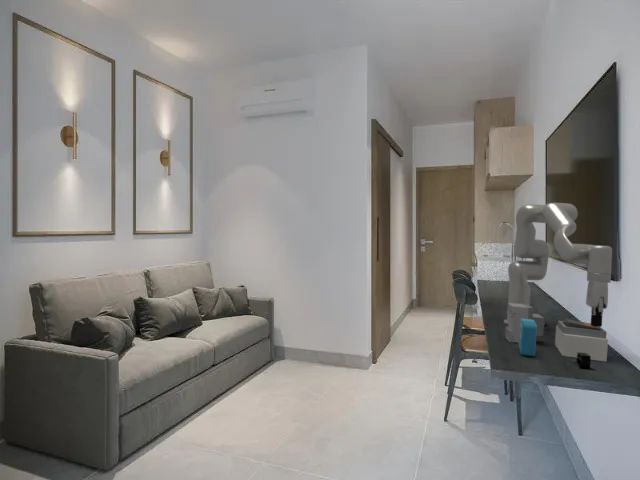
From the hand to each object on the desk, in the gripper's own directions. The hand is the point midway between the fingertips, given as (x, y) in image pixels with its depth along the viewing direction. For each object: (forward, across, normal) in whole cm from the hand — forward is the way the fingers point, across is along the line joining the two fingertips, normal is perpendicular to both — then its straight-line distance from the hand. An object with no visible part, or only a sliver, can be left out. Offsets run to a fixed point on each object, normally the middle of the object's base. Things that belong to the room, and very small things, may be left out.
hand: (596, 325), depth 159 cm
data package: (+12, +9, -25) cm, 29 cm away
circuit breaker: (+11, -8, -23) cm, 27 cm away
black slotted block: (+12, +17, -8) cm, 22 cm away
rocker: (+1, 0, -5) cm, 5 cm away
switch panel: (+11, -1, -5) cm, 12 cm away
